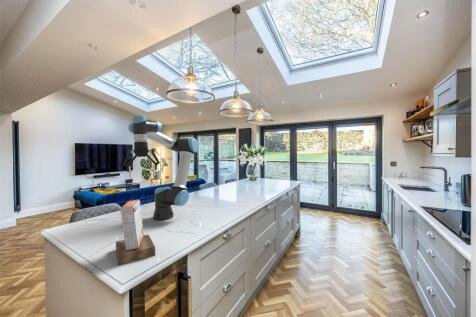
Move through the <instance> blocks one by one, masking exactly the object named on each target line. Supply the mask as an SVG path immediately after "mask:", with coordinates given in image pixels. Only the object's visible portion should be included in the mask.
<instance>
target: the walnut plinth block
mask: <svg viewBox="0 0 476 317" xmlns="http://www.w3.org/2000/svg"><path fill="white" fill-rule="evenodd" d="M115 251H116V253H117V254H116V260H117V266H121V265H125V264H129V263H133V262H136V261H140V260H144V259H148V258H150V257H154V256H155V257H156V245H155V244H154V241H153V240H152V238H151V236H150V235H149V233H148V234H145V235H144V238H143V240H142V242H141V244H140V246H139V248H138V249H133V250H128V251H126V248H125V240H124V239H121V240H116V241H115ZM147 257H148V258H147Z"/></svg>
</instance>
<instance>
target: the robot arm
mask: <svg viewBox="0 0 476 317" xmlns="http://www.w3.org/2000/svg"><path fill="white" fill-rule="evenodd" d="M127 128H128V131H129V133H130V134H133V135H132V136H133V141H134V142H133V150H132V149H129V150H128V154H127V156H126V157H125V160H124V162H123V163H122V166H124V167H126V172H127V173H128V177H129V179H130V178H132V173H131V172H132V171H131V170H132V169H131V164H132V163H133V162H134V161H135V160H136V159H137V157H138V158H145V157H147V159H148V160H149V161H151V163H153V165H152V169H153V173H152V174H153V176H155V177H156V176H157V174H156V171H157V170H158V165H159V164H160V163H161V161H160V160H159V159H158V157H157V155H156V154H155V150H154V149H153V148H151V149H149V143H148V139H149V140H152V141H153V142H156V143H158V144H160V145H161V146H162V145H163V146H164V147H165V149H169V150H171V151H172V152H173V151H174V152H177V153H179V154H180V158H179V161H178V165H177V166H178V167H177V170H176V175H175V180H174V184H172V185H171V187H170V186H164V187H158V188H156V189H155V190H154V212H153V215H152V220H154V221H165V220H167V221H168V220H170V219H172V218H174V215H175V214H174V211H173V208H172V206H176V207H182V206H184V205H186V204H187V202H189V199H190V194H189V191H188V187H187V180H188V178H189V177H188V176H189V172H190V168H191V167H190V166H191V163H192V158H193V157H194V156H195V153H198V151H199V149H200V146H199V142H198V140H197V139H196V138H194V137H183V138H178V137H177V138H176V137H172V136H168V135H166V134H164V133H162V130H163V125H162V123H161V122H160V121H157V120H151V119H147V116H146V115H139V114H136V115H133V116H132V122H130V123H129V124H128V127H127ZM133 153H134V156H133V157H132V158H131V159H130V156H131V154H133ZM148 153H151V154H152V156H153V158H154V159H153V158H152V157H151V156H150V155H149V154H148Z"/></svg>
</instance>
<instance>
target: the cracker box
mask: <svg viewBox="0 0 476 317" xmlns="http://www.w3.org/2000/svg"><path fill="white" fill-rule="evenodd" d="M120 215H121V221H122V222H121V223H122V230H123V231H122V232H123V238H124V239H123V240H125V248H126V251H128V250H133V249H138V248H139V246H140V244H141V242H142V240H143V238H144V228H143V227H144V225H143V216H142V208H141V201H140V199H135V200H129V201H126V203H125V204H124V205H123V206H121V207H120Z"/></svg>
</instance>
